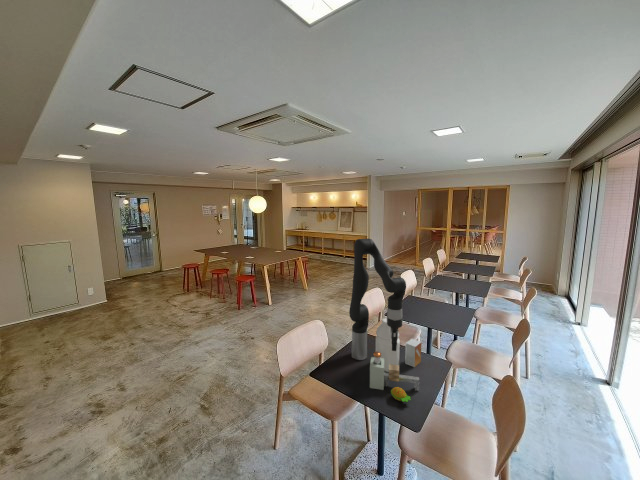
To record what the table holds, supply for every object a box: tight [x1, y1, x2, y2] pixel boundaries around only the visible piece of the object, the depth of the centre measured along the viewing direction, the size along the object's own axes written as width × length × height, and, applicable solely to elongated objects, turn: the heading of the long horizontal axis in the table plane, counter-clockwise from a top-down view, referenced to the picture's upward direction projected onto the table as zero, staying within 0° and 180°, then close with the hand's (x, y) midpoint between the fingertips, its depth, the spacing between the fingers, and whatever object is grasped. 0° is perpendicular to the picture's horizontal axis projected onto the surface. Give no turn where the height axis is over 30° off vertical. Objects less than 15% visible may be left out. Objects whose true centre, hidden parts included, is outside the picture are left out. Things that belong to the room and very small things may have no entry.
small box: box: [404, 338, 423, 368], centre depth 159 cm, size 8×6×13 cm
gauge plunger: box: [373, 351, 381, 365], centre depth 141 cm, size 4×4×9 cm
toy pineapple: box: [390, 386, 412, 403], centre depth 129 cm, size 7×10×5 cm
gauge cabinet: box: [369, 356, 385, 391], centre depth 142 cm, size 7×9×12 cm
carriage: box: [388, 364, 400, 383], centre depth 139 cm, size 5×5×6 cm
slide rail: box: [384, 372, 420, 392], centre depth 139 cm, size 18×2×6 cm, turn 75°
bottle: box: [374, 317, 401, 373], centre depth 157 cm, size 14×14×28 cm
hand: (394, 346), depth 137 cm, fingers open, 8 cm apart
